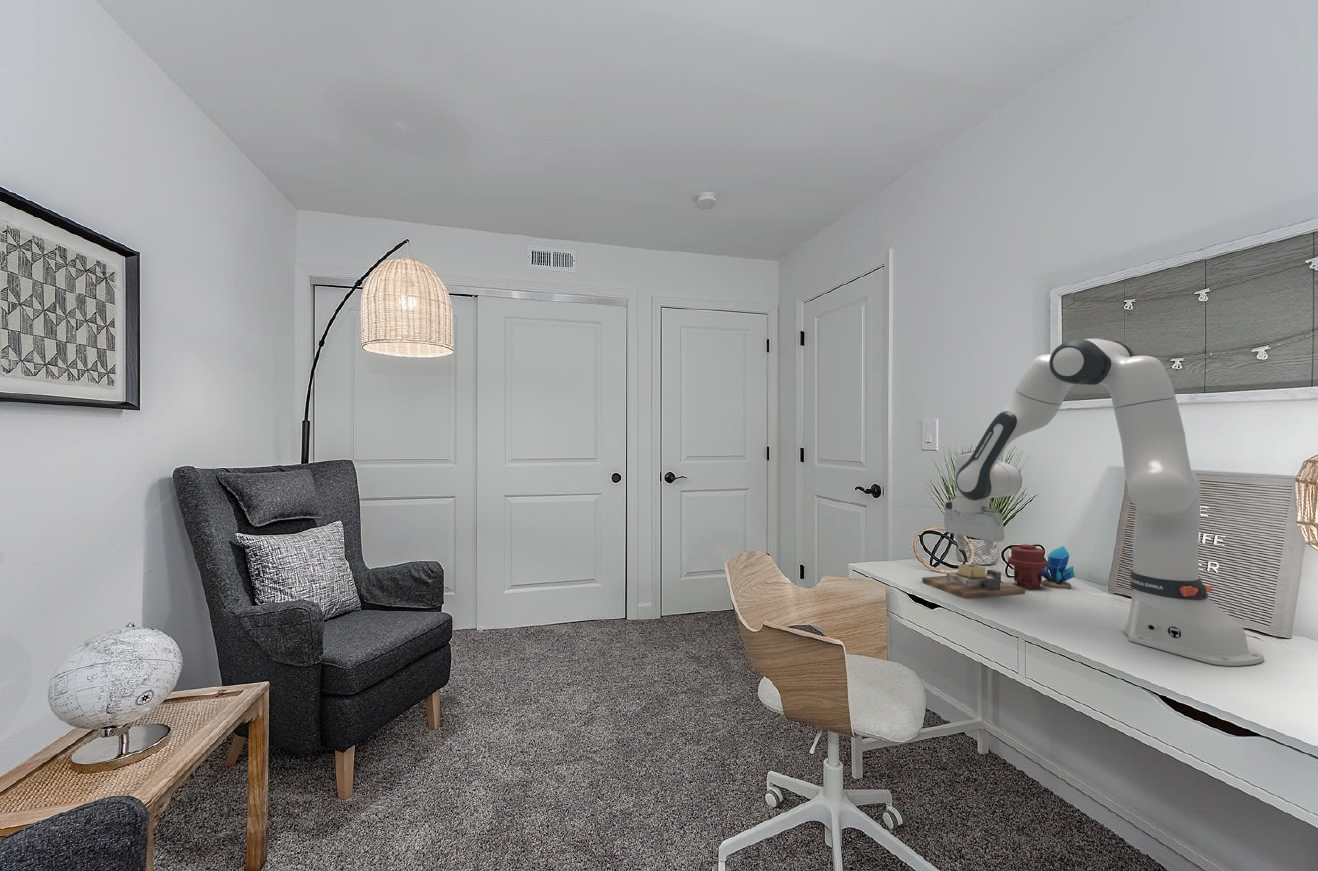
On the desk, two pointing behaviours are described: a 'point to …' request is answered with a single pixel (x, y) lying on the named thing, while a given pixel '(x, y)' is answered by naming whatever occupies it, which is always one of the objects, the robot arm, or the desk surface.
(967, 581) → the stand
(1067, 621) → the desk surface
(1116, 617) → the desk surface
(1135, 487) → the robot arm
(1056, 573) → the gemstone
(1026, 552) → the mechanical component
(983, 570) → the tan cube
